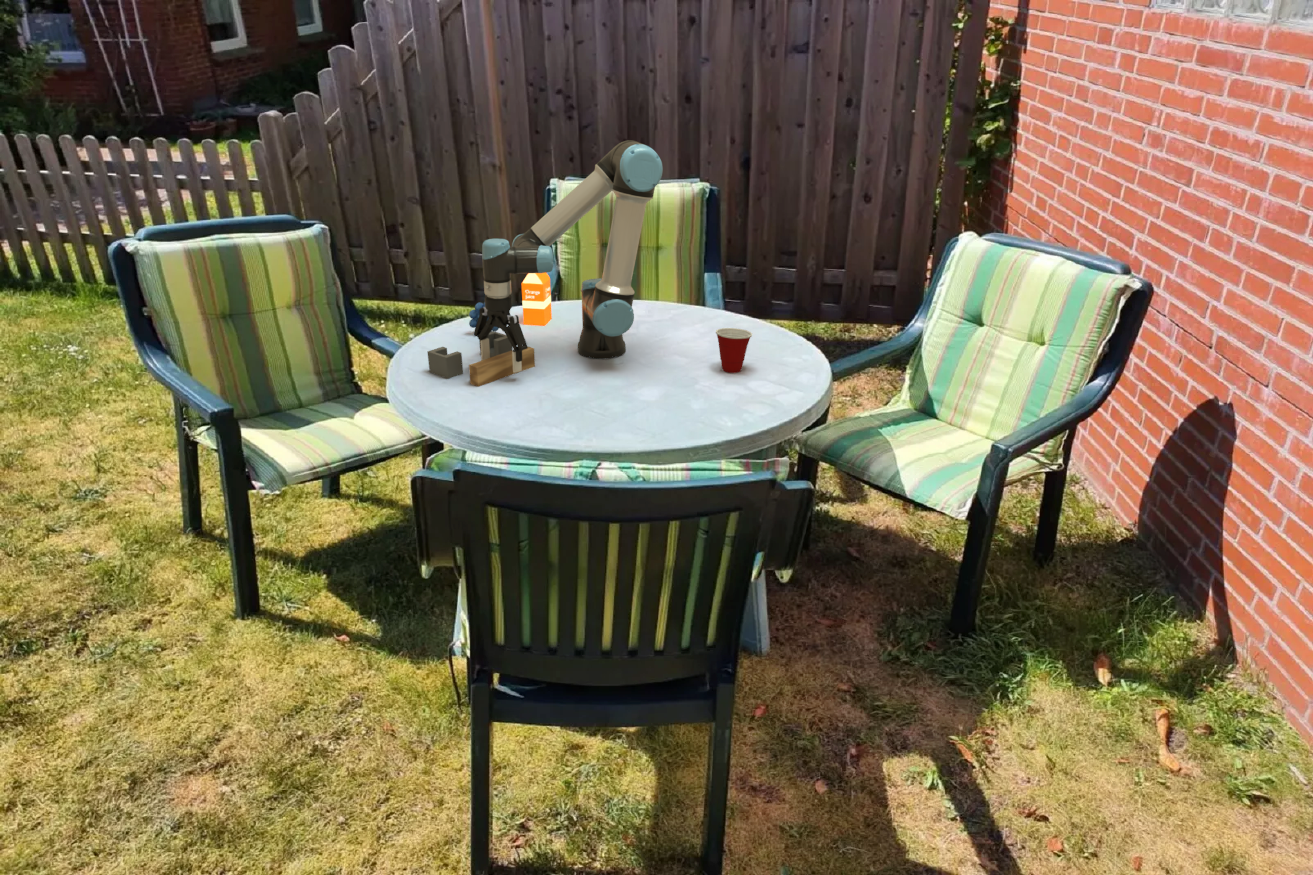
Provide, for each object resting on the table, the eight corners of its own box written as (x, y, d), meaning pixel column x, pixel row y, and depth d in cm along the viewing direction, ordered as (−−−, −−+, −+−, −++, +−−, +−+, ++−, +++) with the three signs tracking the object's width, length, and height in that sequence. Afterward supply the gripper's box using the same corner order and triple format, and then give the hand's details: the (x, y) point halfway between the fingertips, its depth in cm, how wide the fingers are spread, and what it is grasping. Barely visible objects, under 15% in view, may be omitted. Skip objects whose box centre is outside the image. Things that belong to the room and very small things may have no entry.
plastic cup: (757, 369, 269) (760, 331, 264) (735, 378, 262) (737, 339, 257) (729, 360, 276) (731, 323, 271) (706, 369, 268) (708, 331, 263)
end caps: (512, 356, 278) (511, 336, 275) (448, 378, 260) (446, 357, 257) (494, 350, 283) (492, 331, 280) (429, 372, 265) (427, 351, 262)
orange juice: (523, 324, 308) (520, 267, 299) (530, 317, 315) (527, 261, 307) (545, 326, 306) (542, 268, 298) (552, 318, 314) (549, 262, 306)
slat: (535, 367, 270) (534, 348, 268) (478, 387, 255) (476, 367, 252) (527, 364, 272) (526, 345, 270) (470, 384, 257) (468, 364, 254)
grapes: (508, 333, 299) (505, 298, 294) (500, 339, 293) (498, 303, 288) (475, 330, 301) (472, 295, 296) (467, 336, 295) (464, 301, 290)
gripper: (458, 289, 258) (463, 359, 267) (518, 306, 244) (521, 379, 252) (478, 284, 263) (482, 353, 272) (538, 300, 249) (540, 372, 258)
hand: (501, 366), depth 262 cm, fingers open, 13 cm apart
